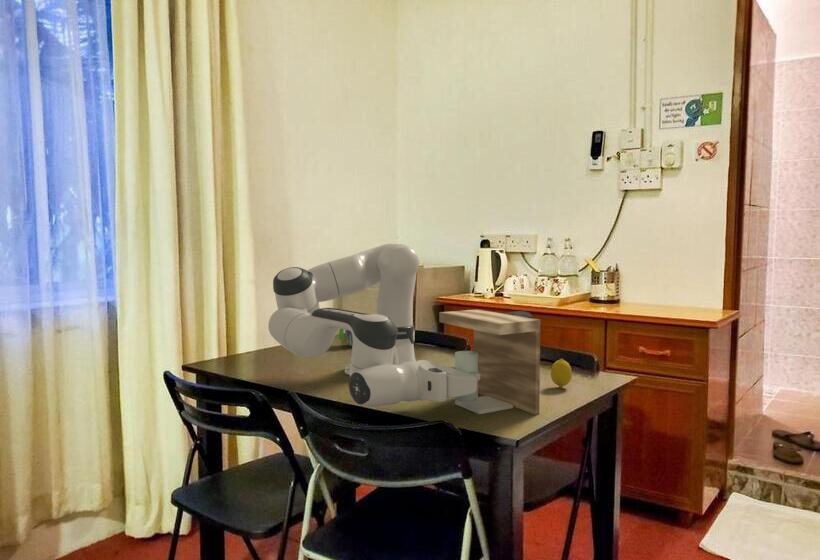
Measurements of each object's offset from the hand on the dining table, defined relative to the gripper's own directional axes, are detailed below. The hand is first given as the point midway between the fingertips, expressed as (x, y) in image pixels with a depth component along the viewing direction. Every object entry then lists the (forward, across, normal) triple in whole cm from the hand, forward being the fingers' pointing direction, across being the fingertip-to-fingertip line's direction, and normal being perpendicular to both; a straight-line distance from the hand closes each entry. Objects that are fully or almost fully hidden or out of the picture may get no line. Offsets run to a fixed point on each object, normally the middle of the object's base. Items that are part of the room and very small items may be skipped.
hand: (469, 373), depth 145 cm
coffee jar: (+36, -25, -9) cm, 45 cm away
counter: (+6, 0, -9) cm, 10 cm away
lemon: (+33, -4, -9) cm, 35 cm away
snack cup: (+14, -91, -9) cm, 92 cm away
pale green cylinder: (-1, 0, -6) cm, 6 cm away
